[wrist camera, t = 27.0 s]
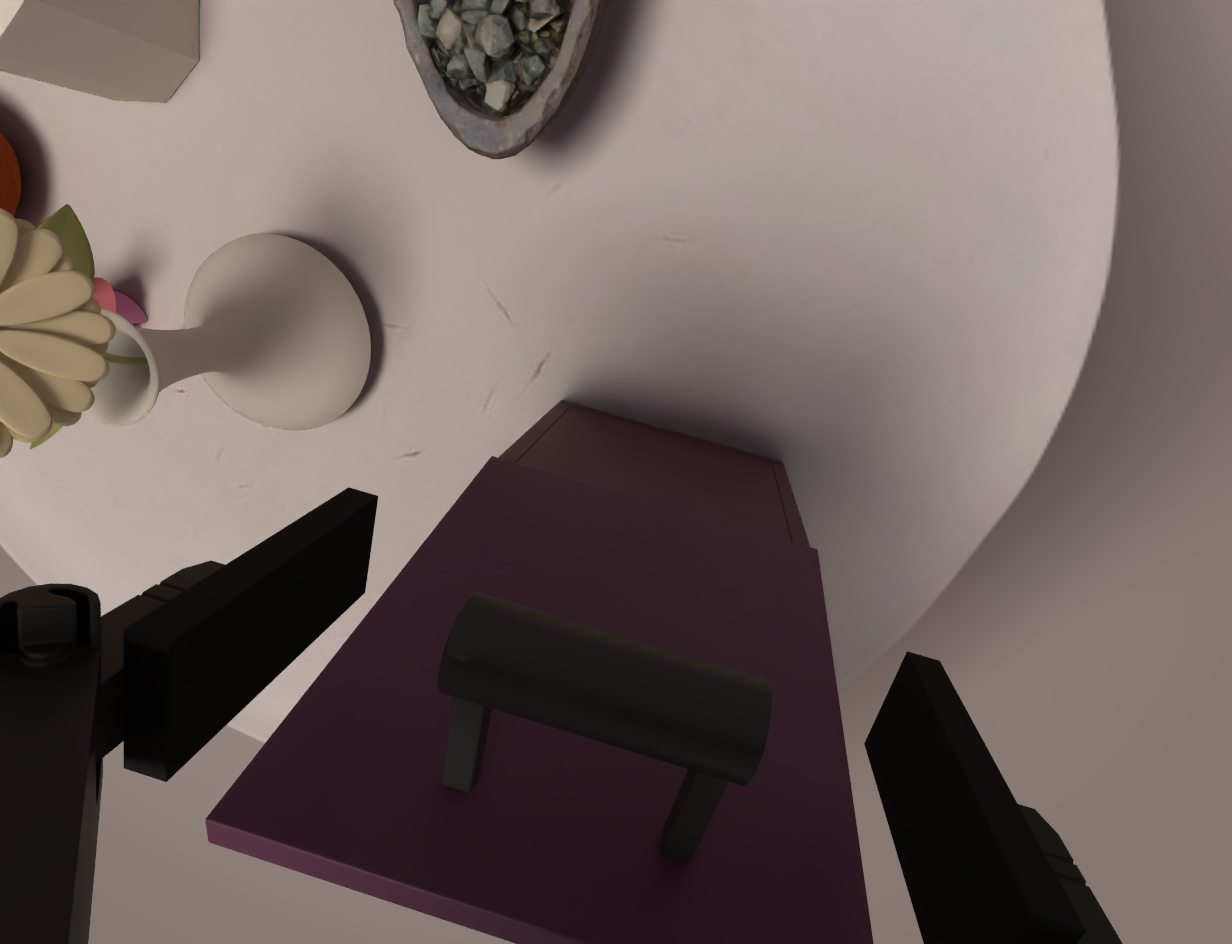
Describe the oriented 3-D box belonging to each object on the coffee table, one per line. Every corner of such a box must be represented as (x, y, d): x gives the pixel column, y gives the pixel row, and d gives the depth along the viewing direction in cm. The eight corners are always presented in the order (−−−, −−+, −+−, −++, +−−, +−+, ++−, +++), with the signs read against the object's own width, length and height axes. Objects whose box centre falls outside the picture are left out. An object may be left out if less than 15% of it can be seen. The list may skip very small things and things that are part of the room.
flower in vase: (345, 455, 43) (-98, 692, 20) (188, 367, 43) (-453, 499, 19) (423, 270, 39) (-26, 289, 15) (249, 170, 39) (-481, 33, 15)
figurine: (54, 379, 45) (-150, 417, 34) (129, 233, 41) (-75, 225, 30) (96, 413, 45) (-93, 461, 35) (174, 271, 41) (-12, 276, 31)
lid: (871, 1061, 13) (1027, 896, 10) (207, 843, 14) (176, 632, 11) (810, 564, 27) (867, 438, 24) (489, 472, 28) (507, 339, 25)
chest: (707, 679, 44) (703, 836, 32) (511, 620, 45) (436, 751, 33) (783, 461, 39) (812, 552, 27) (561, 399, 40) (493, 460, 28)
